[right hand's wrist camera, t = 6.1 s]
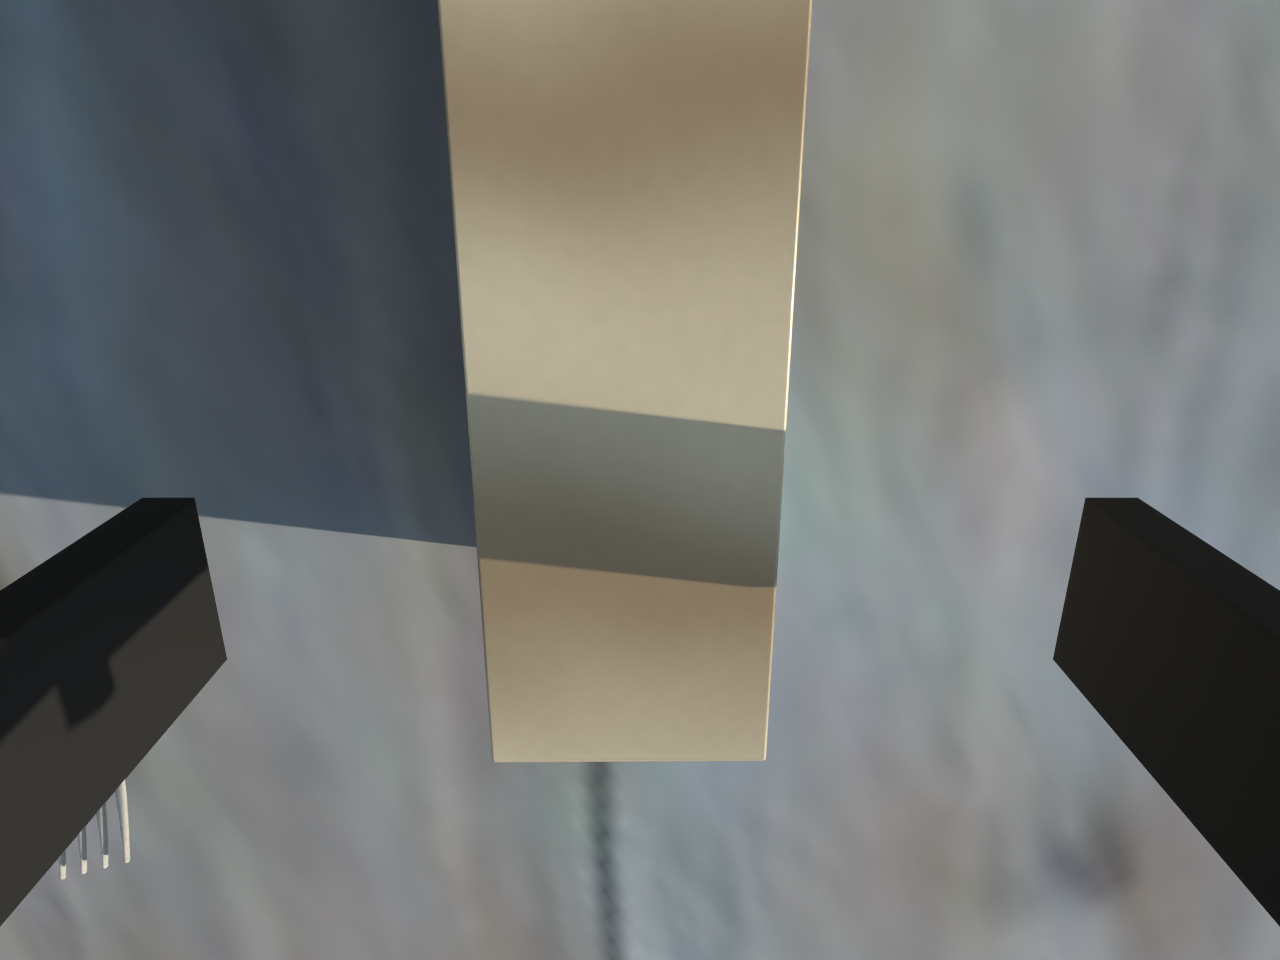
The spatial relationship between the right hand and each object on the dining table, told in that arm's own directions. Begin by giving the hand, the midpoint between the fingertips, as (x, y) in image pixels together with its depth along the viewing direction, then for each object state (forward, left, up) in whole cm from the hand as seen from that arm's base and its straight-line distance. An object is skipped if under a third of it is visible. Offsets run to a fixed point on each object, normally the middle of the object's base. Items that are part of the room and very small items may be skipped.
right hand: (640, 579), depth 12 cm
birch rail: (+6, +11, -10) cm, 16 cm away
